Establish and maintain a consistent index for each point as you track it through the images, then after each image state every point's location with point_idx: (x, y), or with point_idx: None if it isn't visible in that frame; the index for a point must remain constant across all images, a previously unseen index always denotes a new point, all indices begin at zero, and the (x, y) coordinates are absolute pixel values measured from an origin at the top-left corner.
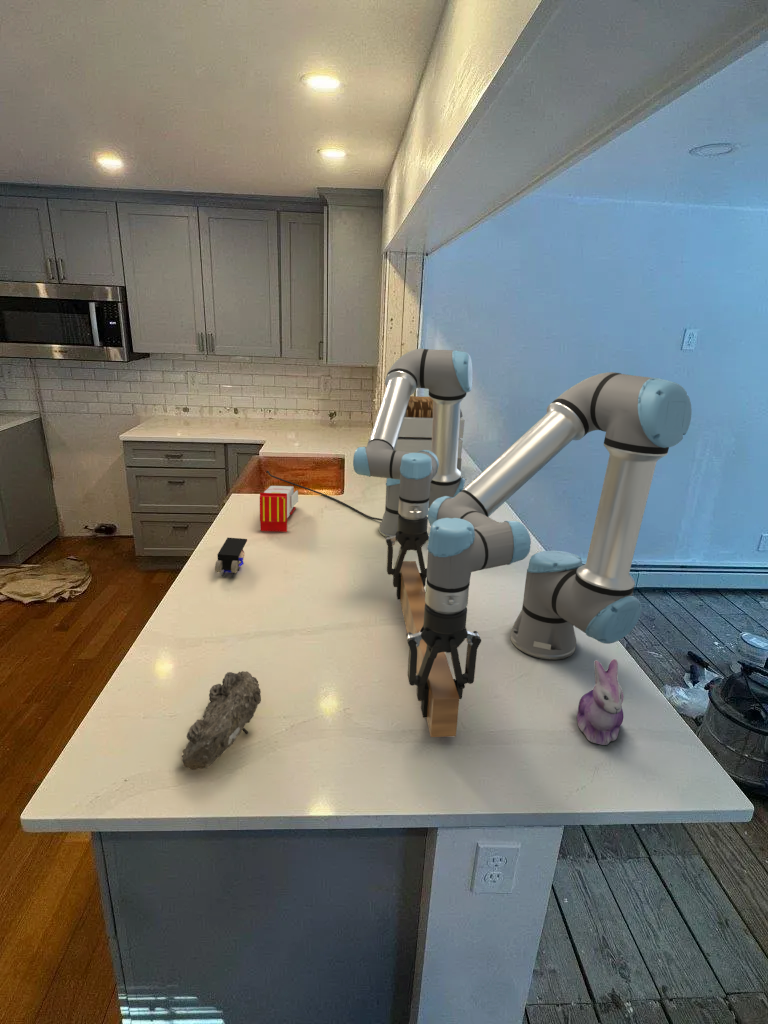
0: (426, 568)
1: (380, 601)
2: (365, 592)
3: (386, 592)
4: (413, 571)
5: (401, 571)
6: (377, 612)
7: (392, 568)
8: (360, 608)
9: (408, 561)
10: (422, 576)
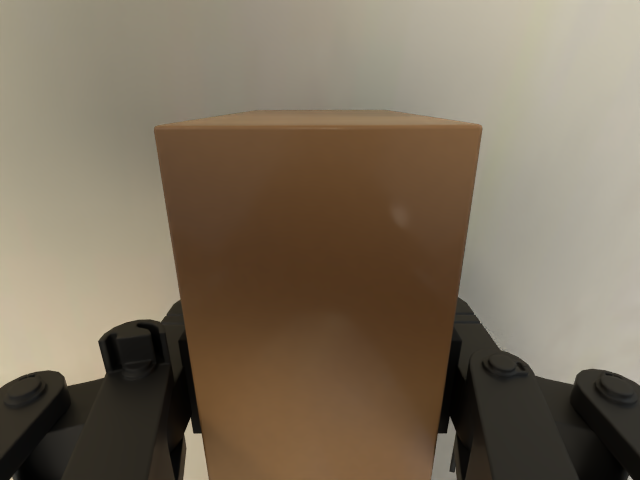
0: (563, 430)
1: (157, 183)
2: (38, 52)
3: (190, 52)
4: (363, 456)
5: (207, 457)
6: (151, 300)
7: (71, 431)
8: (52, 261)
9: (342, 143)
10: (452, 467)
